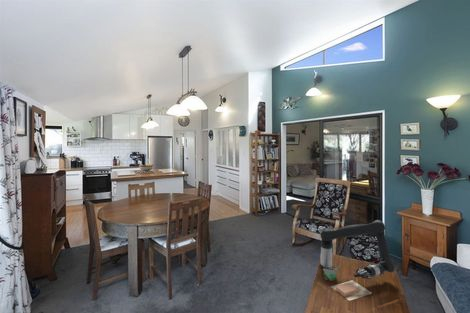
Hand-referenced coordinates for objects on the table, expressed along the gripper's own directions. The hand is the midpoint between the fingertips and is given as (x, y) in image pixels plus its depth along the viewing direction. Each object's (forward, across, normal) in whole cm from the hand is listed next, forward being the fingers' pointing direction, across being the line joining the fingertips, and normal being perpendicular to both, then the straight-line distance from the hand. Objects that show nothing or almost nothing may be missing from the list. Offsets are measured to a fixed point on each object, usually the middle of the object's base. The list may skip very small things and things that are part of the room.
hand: (354, 275), depth 180 cm
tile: (0, 0, +9) cm, 9 cm away
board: (+4, 0, +11) cm, 12 cm away
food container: (+7, -16, +11) cm, 21 cm away
